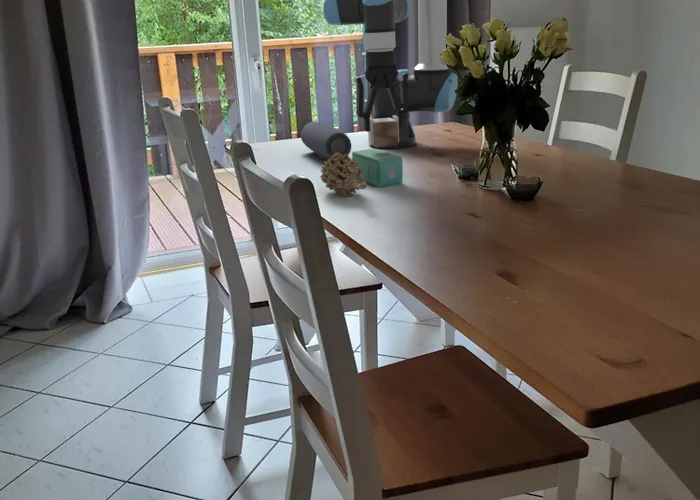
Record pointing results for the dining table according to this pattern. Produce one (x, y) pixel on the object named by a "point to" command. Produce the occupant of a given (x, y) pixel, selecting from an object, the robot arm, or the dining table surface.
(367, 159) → the box
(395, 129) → the walnut cube
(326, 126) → the bluetooth speaker
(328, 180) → the pine cone
